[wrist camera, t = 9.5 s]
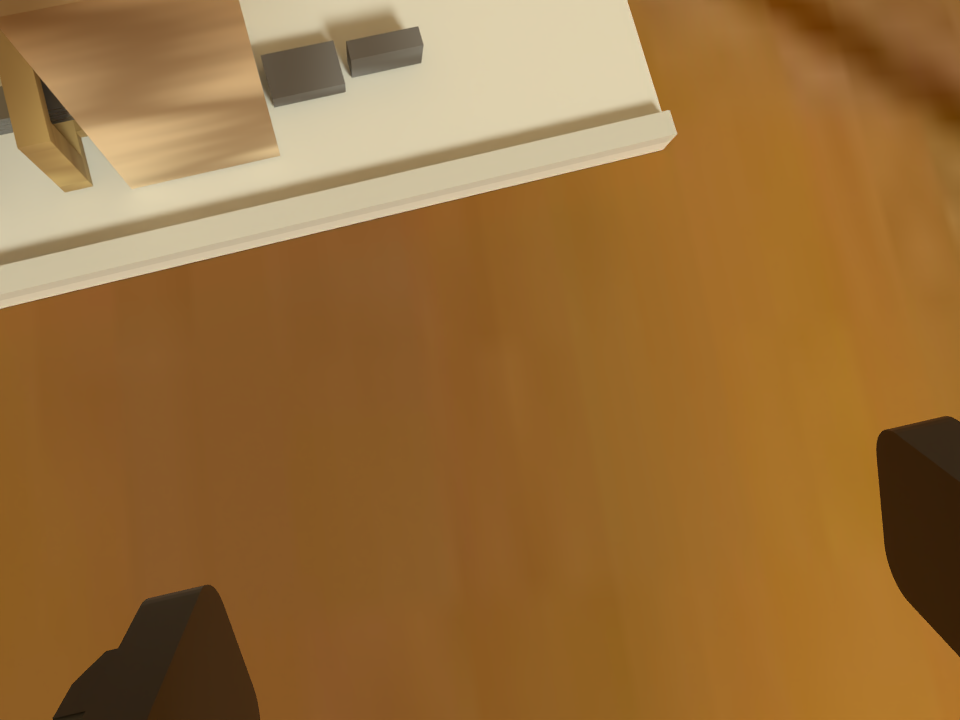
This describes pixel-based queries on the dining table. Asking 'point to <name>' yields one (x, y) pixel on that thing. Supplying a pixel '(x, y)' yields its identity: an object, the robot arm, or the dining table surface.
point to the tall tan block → (161, 84)
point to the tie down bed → (356, 138)
